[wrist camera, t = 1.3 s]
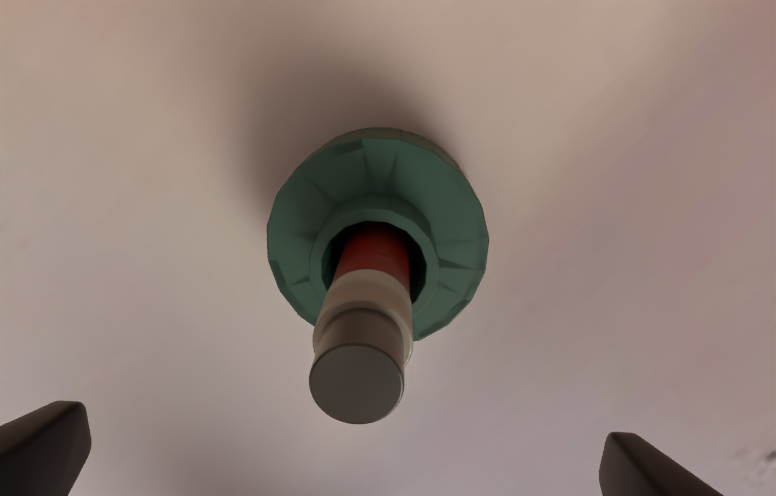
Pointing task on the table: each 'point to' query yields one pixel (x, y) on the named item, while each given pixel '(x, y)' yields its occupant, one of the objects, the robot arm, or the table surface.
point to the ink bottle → (383, 204)
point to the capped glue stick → (364, 327)
